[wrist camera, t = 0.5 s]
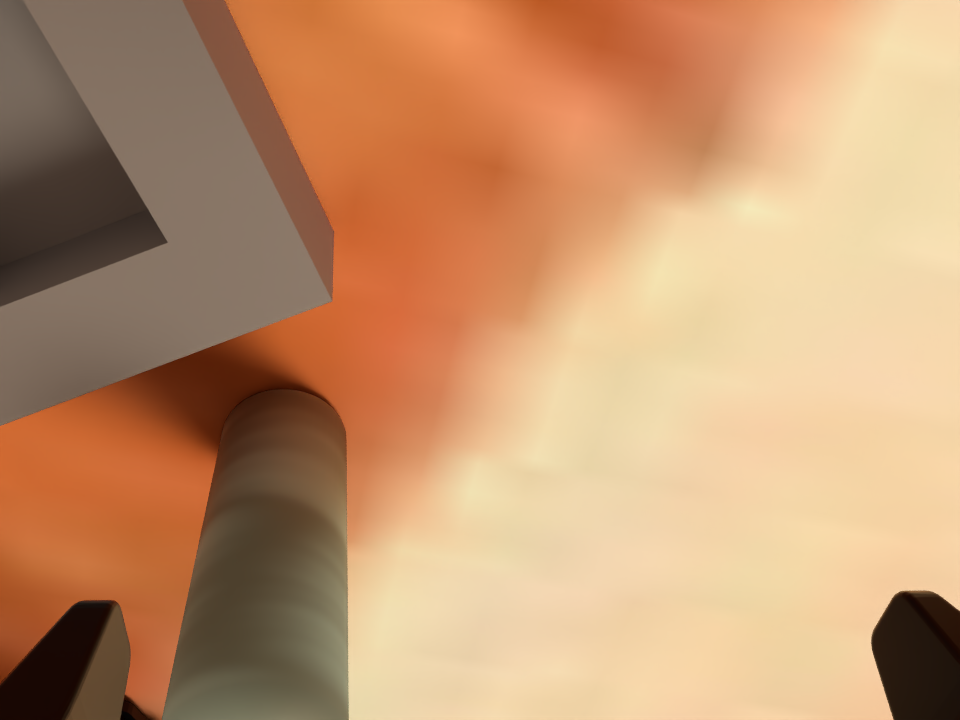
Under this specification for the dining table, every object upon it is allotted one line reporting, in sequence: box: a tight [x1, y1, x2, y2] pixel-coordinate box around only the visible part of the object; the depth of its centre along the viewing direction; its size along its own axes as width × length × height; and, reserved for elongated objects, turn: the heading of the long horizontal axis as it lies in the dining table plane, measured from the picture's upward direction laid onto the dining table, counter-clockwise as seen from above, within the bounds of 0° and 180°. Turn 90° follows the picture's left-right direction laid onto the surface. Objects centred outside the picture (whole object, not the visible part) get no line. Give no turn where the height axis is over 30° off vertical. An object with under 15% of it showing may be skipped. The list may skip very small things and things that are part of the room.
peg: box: [162, 389, 349, 720], centre depth 20 cm, size 4×4×10 cm
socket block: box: [0, 0, 334, 426], centre depth 17 cm, size 10×10×4 cm
